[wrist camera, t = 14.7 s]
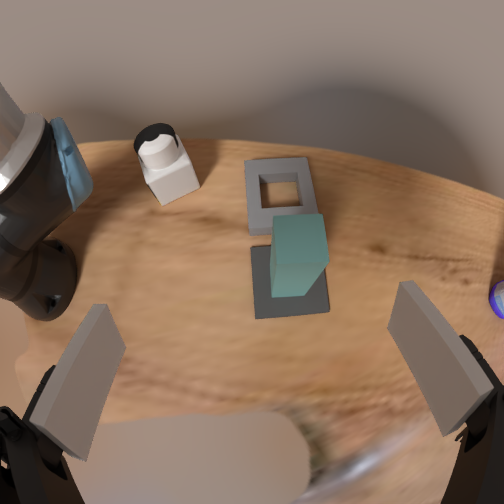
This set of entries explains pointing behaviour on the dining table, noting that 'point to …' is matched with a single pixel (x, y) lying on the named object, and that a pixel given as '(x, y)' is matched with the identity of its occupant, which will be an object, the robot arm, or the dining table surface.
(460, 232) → the dining table surface
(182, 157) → the medicine bottle
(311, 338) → the dining table surface
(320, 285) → the mat
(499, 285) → the bottle
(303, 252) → the plug
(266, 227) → the socket block
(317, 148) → the dining table surface
